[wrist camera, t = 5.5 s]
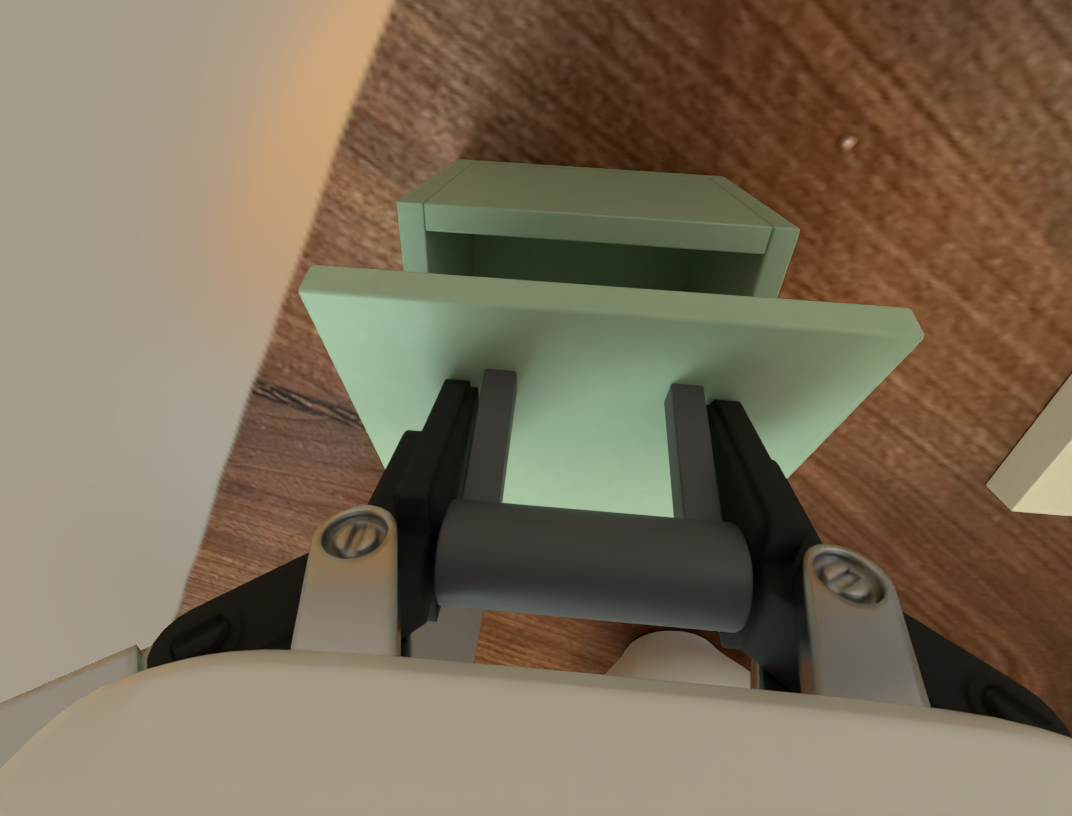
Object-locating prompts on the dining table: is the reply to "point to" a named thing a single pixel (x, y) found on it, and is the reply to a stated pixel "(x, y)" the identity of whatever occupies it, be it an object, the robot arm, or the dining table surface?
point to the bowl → (679, 661)
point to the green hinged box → (595, 228)
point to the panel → (1041, 462)
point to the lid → (598, 425)
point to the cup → (449, 635)
